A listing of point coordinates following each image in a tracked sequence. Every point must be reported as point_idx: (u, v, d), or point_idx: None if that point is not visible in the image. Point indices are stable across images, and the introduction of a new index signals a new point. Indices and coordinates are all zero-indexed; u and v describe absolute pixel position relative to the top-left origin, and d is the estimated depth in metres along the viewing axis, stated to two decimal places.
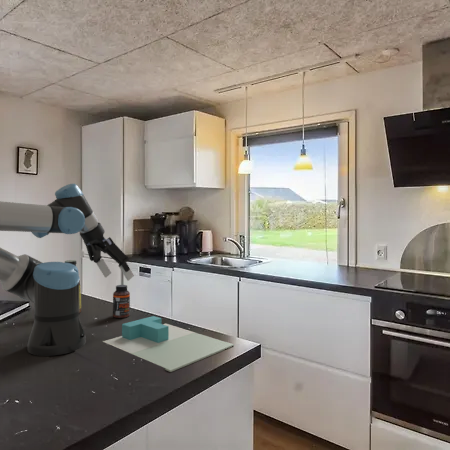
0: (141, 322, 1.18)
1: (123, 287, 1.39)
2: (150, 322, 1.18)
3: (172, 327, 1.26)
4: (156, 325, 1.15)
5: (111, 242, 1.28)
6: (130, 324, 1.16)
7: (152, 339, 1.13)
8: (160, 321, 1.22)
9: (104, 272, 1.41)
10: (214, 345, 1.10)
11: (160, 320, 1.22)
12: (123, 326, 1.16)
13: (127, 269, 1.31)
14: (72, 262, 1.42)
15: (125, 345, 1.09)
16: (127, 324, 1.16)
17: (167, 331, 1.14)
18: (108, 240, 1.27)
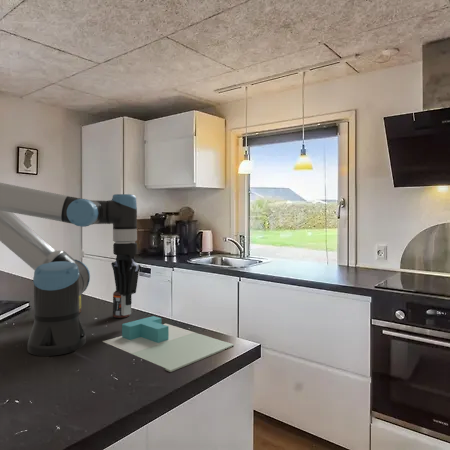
0: (141, 322, 1.18)
1: None
2: (150, 322, 1.18)
3: (172, 327, 1.26)
4: (156, 325, 1.15)
5: (137, 270, 1.21)
6: (130, 324, 1.16)
7: (152, 339, 1.13)
8: (160, 321, 1.22)
9: None
10: (214, 345, 1.10)
11: (160, 320, 1.22)
12: (123, 326, 1.16)
13: (129, 302, 1.24)
14: None
15: (125, 345, 1.09)
16: (127, 324, 1.16)
17: (167, 331, 1.14)
18: (137, 268, 1.21)
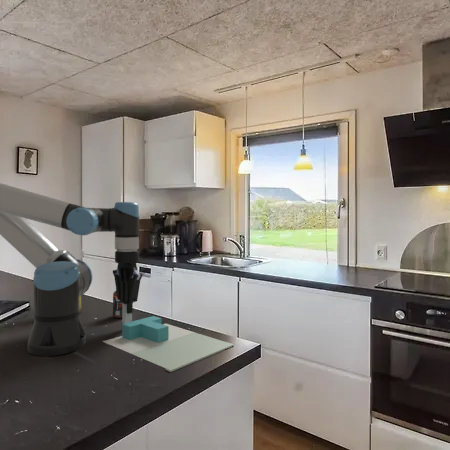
0: (141, 322, 1.18)
1: None
2: (150, 322, 1.18)
3: (172, 327, 1.26)
4: (156, 325, 1.15)
5: (139, 279, 1.21)
6: (130, 324, 1.16)
7: (152, 339, 1.13)
8: (160, 321, 1.22)
9: None
10: (214, 345, 1.10)
11: (160, 320, 1.22)
12: (123, 326, 1.16)
13: (130, 311, 1.23)
14: None
15: (125, 345, 1.09)
16: (127, 324, 1.16)
17: (167, 331, 1.14)
18: (139, 276, 1.20)
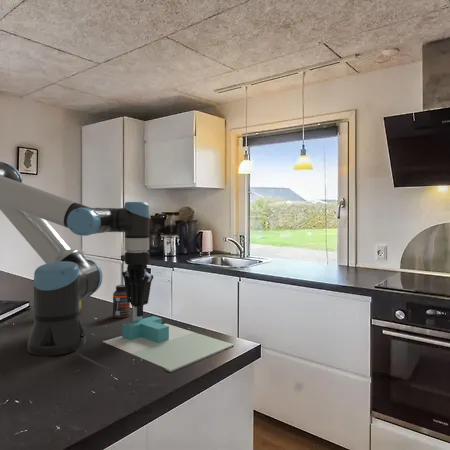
0: (141, 322, 1.18)
1: (123, 287, 1.39)
2: (150, 322, 1.18)
3: (172, 327, 1.26)
4: (157, 325, 1.15)
5: (150, 281, 1.17)
6: (130, 324, 1.16)
7: (152, 339, 1.13)
8: (160, 321, 1.22)
9: None
10: (214, 345, 1.10)
11: (160, 320, 1.22)
12: (123, 326, 1.16)
13: (140, 314, 1.20)
14: None
15: (125, 345, 1.09)
16: (127, 324, 1.16)
17: (167, 331, 1.14)
18: (150, 278, 1.17)
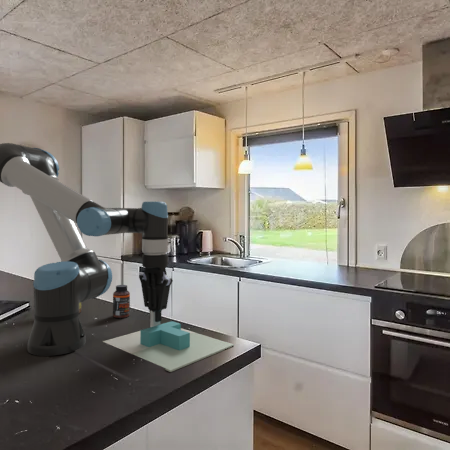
0: (160, 328, 1.12)
1: (123, 287, 1.39)
2: (170, 328, 1.12)
3: None
4: (177, 331, 1.10)
5: (169, 284, 1.12)
6: (149, 330, 1.10)
7: (173, 346, 1.07)
8: (179, 327, 1.17)
9: (153, 325, 1.15)
10: (214, 345, 1.10)
11: (179, 326, 1.17)
12: (142, 332, 1.10)
13: (158, 319, 1.14)
14: None
15: (125, 345, 1.09)
16: (146, 330, 1.10)
17: (188, 338, 1.08)
18: (169, 282, 1.11)
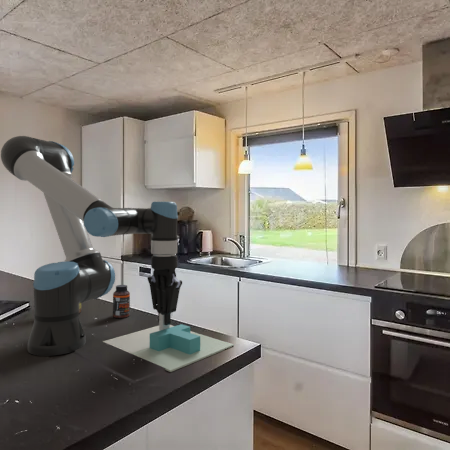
0: (170, 331, 1.09)
1: (123, 287, 1.39)
2: (179, 331, 1.10)
3: None
4: (187, 334, 1.07)
5: (178, 286, 1.09)
6: (158, 334, 1.07)
7: (183, 350, 1.05)
8: (189, 330, 1.14)
9: None
10: (214, 345, 1.10)
11: (189, 329, 1.14)
12: (151, 336, 1.07)
13: (168, 322, 1.11)
14: None
15: (125, 345, 1.09)
16: (155, 334, 1.07)
17: (199, 341, 1.06)
18: (179, 284, 1.08)
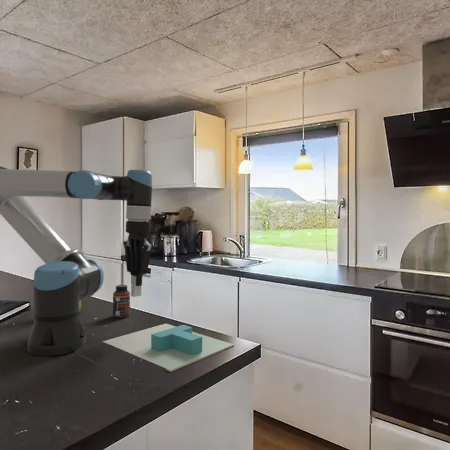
0: (171, 332, 1.09)
1: (123, 287, 1.39)
2: (181, 332, 1.09)
3: (172, 327, 1.26)
4: (189, 335, 1.06)
5: (149, 250, 1.16)
6: (160, 334, 1.07)
7: (185, 351, 1.04)
8: (191, 330, 1.13)
9: None
10: (214, 345, 1.10)
11: (191, 329, 1.13)
12: (153, 336, 1.07)
13: (139, 283, 1.19)
14: None
15: (125, 345, 1.09)
16: (157, 334, 1.07)
17: (201, 342, 1.05)
18: (149, 247, 1.16)
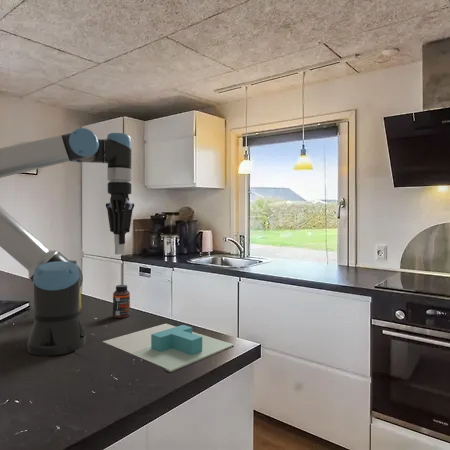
0: (171, 332, 1.09)
1: (123, 287, 1.39)
2: (181, 332, 1.09)
3: (172, 327, 1.26)
4: (189, 335, 1.06)
5: (131, 208, 1.23)
6: (160, 334, 1.07)
7: (185, 351, 1.04)
8: (191, 330, 1.13)
9: None
10: (214, 345, 1.10)
11: (191, 329, 1.13)
12: (153, 336, 1.07)
13: (122, 242, 1.25)
14: None
15: (125, 345, 1.09)
16: (157, 334, 1.07)
17: (201, 342, 1.05)
18: (131, 206, 1.22)
